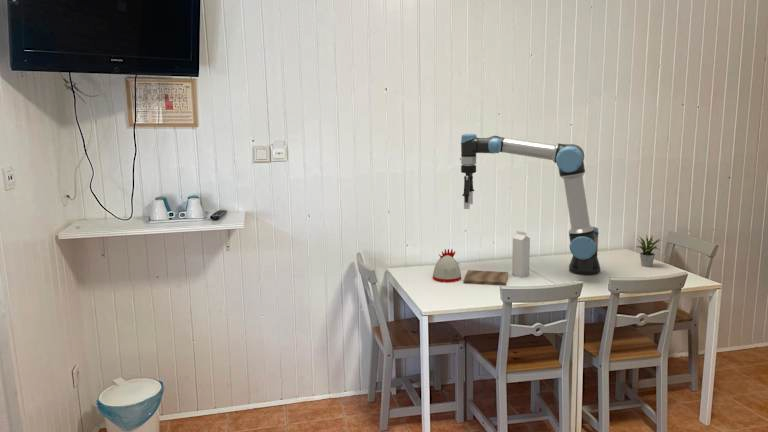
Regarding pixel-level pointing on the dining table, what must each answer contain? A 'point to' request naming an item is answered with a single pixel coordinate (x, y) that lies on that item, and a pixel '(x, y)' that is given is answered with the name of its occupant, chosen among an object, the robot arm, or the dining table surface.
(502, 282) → the walnut board
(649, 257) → the house plant
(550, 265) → the dining table surface
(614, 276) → the dining table surface
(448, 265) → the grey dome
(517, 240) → the milk
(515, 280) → the dining table surface
